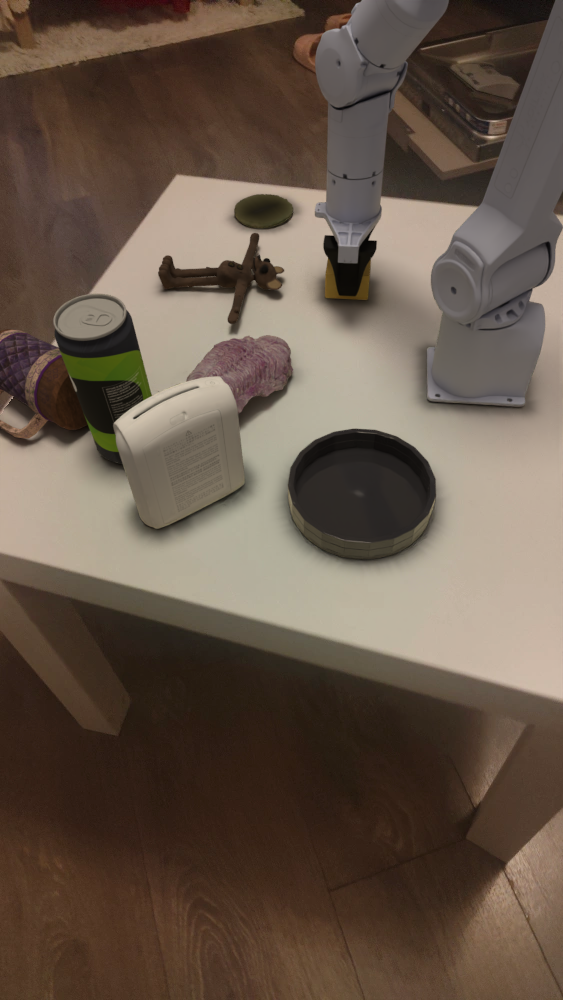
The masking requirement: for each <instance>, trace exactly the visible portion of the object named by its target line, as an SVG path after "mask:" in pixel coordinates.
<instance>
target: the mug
mask: <svg viewBox="0 0 563 1000" xmlns="http://www.w3.org/2000/svg"><path fill="white" fill-rule="evenodd" d="M4 392H5V393H7V394H8V395H10V396H12V397H13V398H15V399H16V400H17V401H19V402H21V403H23V404H24V405H26V406H27V407H28V408H30V409H31V411H33V412H34V413H35V414H33V417H32V418H31V419H30V420H29V422H28V423H27V424H26V425H25V426H23V427H22V428H17V427H14V426H12V425H10V424H8V423H6V422H5V421H3V420H2V419H0V429H1V430H2V431H4V432H5V433H7V434H9V435H11V436H13V437H14V438H19V439H20V438H21V439H30V438H32V437H34V436H35V435H37V434H38V432H40V430H41V429H42V428H43V427H44V426H45V425H46V424H47V422H48V421H49V422H51V423H54V424H55V425H56V426H58V427H60V428H61V429H65V430H68V431H75V430H76V431H77V430H80V429H82V428H85V427H87V426H88V423H87V421H86V418H85V415H84V413H83V410H82V408H81V405H80V402H79V400H78V397H77V394H76V392H75V389H74V387H73V384H72V381H71V379H70V376H69V373H68V371H67V368H66V365H65V363H64V360H63V358H62V355H61V352H60V350H59V347H58V346H57V345H54V344H52V343H49V342H46V341H44V340H42V339H39V338H38V337H35V336H34V335H31V334H29V333H28V332H26V331H22V330H19V329H13V328H5V329H1V330H0V395H2V394H3V393H4Z"/></svg>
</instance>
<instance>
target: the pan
mask: <svg viewBox="0 0 563 1000" xmlns="http://www.w3.org/2000/svg"><path fill="white" fill-rule="evenodd" d="M436 481H437V479H436V476H435V474H434V472H433V470H432V467H431V465H430V463H429V461H428V460H427V458H426V457H425V456H424V455H423V454H422V453H421V452H420V451H419V449H417V448H416V446H414V445H412V444H411V443H409V442H407V441H406V440H404V439H402V438H401V437H399V436H397V435H394V434H391V433H388V432H384V431H381V430H378V429H371V428H369V429H367V428H348V429H342V430H337V431H335V430H334V431H332V432H329V433H327V434H325V435H322V436H321V437H318V438H316V439H314V440H313V441H312V442H310V443H309V444H308V445H307V446H305V448H303V449H302V450H301V451H299V453H298V454H297V456H296V458H295V459H294V461H293V463H292V464H291V466H290V469H289V475H288V481H287V497H288V498H287V500H288V504H289V511H290V514H291V518H292V520H293V522H294V524H295V525H296V527H297V529H298V530H299V531H300V533H302V535H303V536H304V537H305V538H306V539H307V540H308V541H309V542H311V543H312V544H313V545H315V546H316V547H318V548H319V549H321V550H322V551H325V552H327V553H329V554H332V555H334V556H338V557H341V558H344V559H345V558H346V559H351V560H364V561H365V560H366V561H367V560H376V559H382V558H386V557H389V556H392V555H395V554H397V553H400V552H402V551H403V550H405V549H407V548H409V547H410V546H411V545H412V544H414V543H415V542H416V541H417V540H418V539H419V538H420V537H421V536H422V534H423V533H424V532H425V530H426V528H427V527H428V525H429V522H430V519H431V516H432V513H433V510H434V506H435V502H436V498H437V483H436Z"/></svg>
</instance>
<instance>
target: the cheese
mask: <svg viewBox="0 0 563 1000" xmlns="http://www.w3.org/2000/svg"><path fill="white" fill-rule="evenodd" d="M371 267H372V258H371V259H370V261H369V262H368V264H367V266H366V268H365V270H364V273H363V277H362V280H361V284H360V288H359V291H358V293H357V295H356V296H340V295H339V294H338V291H337V287H336V281H335V276H334V271H333V268H332V265H331V263H330V261H329V259H328V258H327V261H326V268H325V275H324V298H325V299H340V300H359V301H361V300H362V301H368V300H369V293H370V292H369V290H370V279H371Z"/></svg>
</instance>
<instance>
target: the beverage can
mask: <svg viewBox="0 0 563 1000" xmlns="http://www.w3.org/2000/svg"><path fill="white" fill-rule="evenodd" d="M52 321H53V326H54V339H55V342H56V344H57V347H59V350H60V352H61V355H62V358H63V360H64V363H65V365H66V368H67V371H68V373H69V376H70V379H71V381H72V384H73V387H74V389H75V392H76V394H77V397H78V400H79V402H80V405H81V408H82V410H83V413H84V415H85V418H86V421H87V423H88V425H87V426H88V429H89V432H90V434H91V436H92V439H93V442H94V444H95V447H96V450H97V451H98V453H99V454H100V455H101V456H102V458H104V459H105V460H107V461H108V462H112V463H116V464H121V465H123V463H122V460H121V457H120V454H119V451H118V448H117V444H116V435H115V431H114V427H113V425H114V422H115V421H116V420H117V419H119V418H120V417H121V416H122V415H123V414H124V413H126V412H127V411H128V410H130V409H131V408H132V407H134V406H135V405H137V404H139V403H140V402H142V401H144V400H145V399H147V398H149V397H151V396H153V395H152V390H151V387H150V383H149V379H148V375H147V372H146V367H145V363H144V360H143V356H142V352H141V348H140V344H139V340H138V337H137V333H136V329H135V325H134V321H133V318H132V316H131V314H130V312H129V311H128V310H127V307H126V305H125V303H124V302H123V300H121V299H120V298H118V297H116V296H114V295H111V294H108V293H97V292H96V293H88V294H83V295H79V296H76V297H73V298H72V299H70V300H67V301H66V302H64V303H63V304H62V305H60V307H59V308H57V310H56V311H55V313H54V316H53V319H52Z"/></svg>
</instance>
